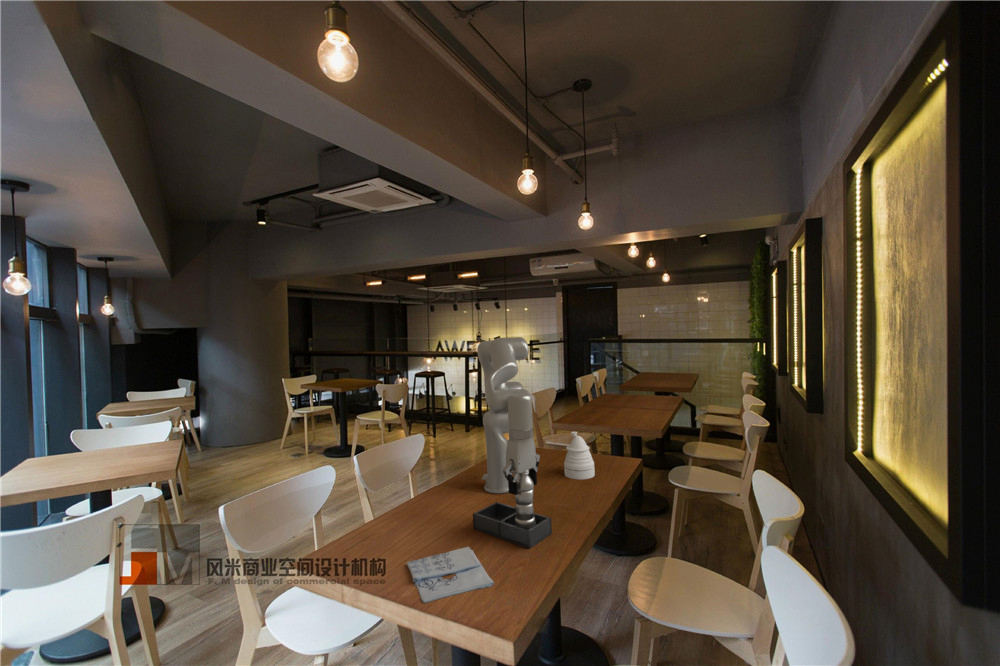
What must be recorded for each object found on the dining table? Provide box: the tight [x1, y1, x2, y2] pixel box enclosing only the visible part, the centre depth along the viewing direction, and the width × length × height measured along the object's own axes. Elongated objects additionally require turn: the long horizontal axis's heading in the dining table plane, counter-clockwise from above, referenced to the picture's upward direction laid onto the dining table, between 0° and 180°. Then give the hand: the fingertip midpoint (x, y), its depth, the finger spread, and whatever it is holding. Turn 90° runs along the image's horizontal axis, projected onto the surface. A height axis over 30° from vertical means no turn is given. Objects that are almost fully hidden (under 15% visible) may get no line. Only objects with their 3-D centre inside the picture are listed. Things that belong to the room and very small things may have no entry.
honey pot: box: [563, 431, 596, 480], centre depth 190 cm, size 13×13×18 cm
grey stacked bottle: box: [514, 470, 536, 530], centre depth 136 cm, size 6×7×20 cm
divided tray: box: [472, 501, 553, 550], centre depth 139 cm, size 22×12×5 cm, turn 50°
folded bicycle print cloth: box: [406, 546, 495, 604], centre depth 116 cm, size 19×20×2 cm
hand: (523, 488), depth 136 cm, fingers open, 9 cm apart
